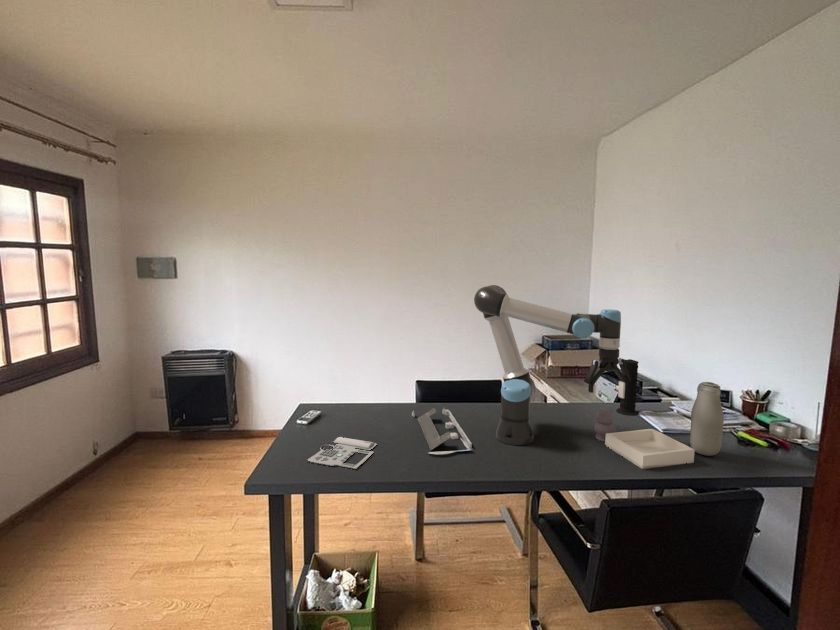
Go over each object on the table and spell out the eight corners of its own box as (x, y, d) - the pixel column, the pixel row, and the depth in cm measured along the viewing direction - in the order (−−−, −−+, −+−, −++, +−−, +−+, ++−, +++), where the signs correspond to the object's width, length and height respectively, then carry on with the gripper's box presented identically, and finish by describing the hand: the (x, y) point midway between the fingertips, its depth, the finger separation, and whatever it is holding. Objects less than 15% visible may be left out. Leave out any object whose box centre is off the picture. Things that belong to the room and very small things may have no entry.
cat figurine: (602, 433, 179) (603, 406, 177) (618, 439, 172) (620, 411, 171) (589, 437, 174) (590, 409, 173) (605, 444, 168) (607, 415, 166)
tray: (642, 469, 147) (643, 455, 147) (605, 445, 167) (605, 433, 166) (693, 462, 152) (694, 449, 152) (651, 440, 172) (652, 428, 171)
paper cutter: (448, 414, 202) (448, 403, 201) (475, 455, 158) (476, 441, 158) (411, 416, 199) (411, 405, 199) (429, 458, 155) (429, 444, 155)
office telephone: (339, 433, 173) (383, 440, 166) (339, 439, 173) (383, 446, 166) (305, 456, 151) (354, 466, 144) (306, 463, 152) (354, 473, 145)
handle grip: (614, 407, 211) (617, 414, 201) (617, 356, 208) (621, 360, 198) (636, 409, 208) (640, 416, 199) (639, 357, 205) (644, 362, 195)
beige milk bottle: (711, 449, 163) (718, 379, 160) (725, 461, 153) (732, 387, 150) (683, 447, 165) (689, 378, 162) (695, 458, 155) (701, 385, 152)
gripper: (587, 351, 162) (585, 404, 165) (642, 347, 168) (639, 399, 170) (576, 347, 170) (574, 398, 172) (629, 344, 175) (626, 393, 178)
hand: (606, 398), depth 171 cm, fingers open, 13 cm apart
